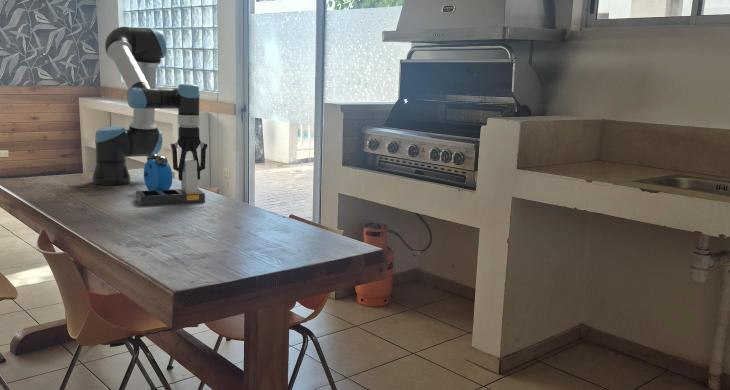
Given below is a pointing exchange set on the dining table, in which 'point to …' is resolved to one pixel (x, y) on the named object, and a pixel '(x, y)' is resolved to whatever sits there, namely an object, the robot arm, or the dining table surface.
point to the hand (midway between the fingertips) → (189, 188)
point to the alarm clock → (157, 173)
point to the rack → (168, 197)
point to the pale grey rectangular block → (190, 176)
